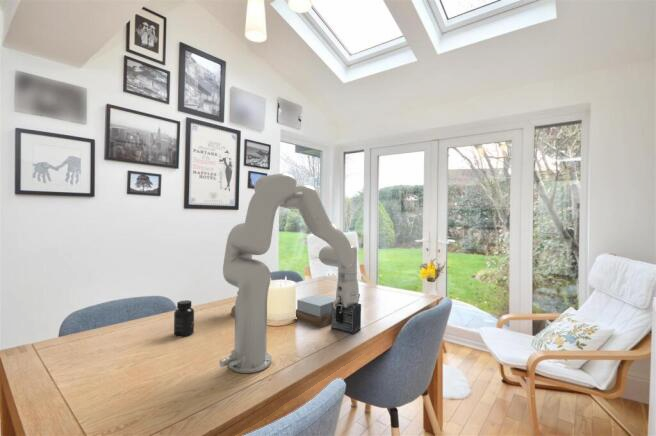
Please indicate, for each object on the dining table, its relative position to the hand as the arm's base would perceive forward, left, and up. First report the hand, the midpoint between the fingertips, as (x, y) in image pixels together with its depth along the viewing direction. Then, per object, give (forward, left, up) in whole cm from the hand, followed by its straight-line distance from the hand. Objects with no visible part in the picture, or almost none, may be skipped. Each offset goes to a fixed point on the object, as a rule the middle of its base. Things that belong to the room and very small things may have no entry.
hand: (346, 319), depth 124 cm
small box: (0, 0, -4) cm, 4 cm away
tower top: (+1, +16, 0) cm, 16 cm away
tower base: (+2, +16, -5) cm, 17 cm away
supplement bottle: (-44, +43, -4) cm, 62 cm away
